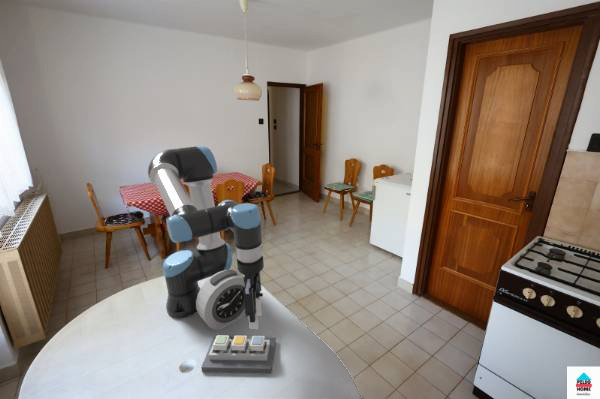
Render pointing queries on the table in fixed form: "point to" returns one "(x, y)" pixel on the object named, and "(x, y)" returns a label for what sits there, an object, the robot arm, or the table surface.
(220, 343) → the key sage
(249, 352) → the keypad
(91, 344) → the table surface
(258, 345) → the key blue
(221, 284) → the alarm clock
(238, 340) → the key ochre
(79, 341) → the table surface
